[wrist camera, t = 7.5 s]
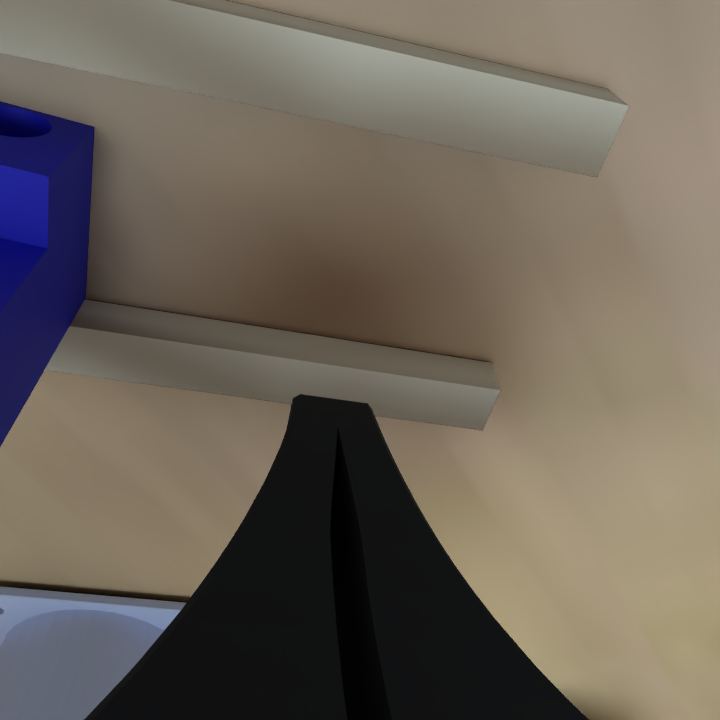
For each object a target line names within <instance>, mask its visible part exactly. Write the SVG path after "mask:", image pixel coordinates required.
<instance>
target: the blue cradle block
mask: <svg viewBox="0 0 720 720" xmlns="http://www.w3.org/2000/svg"><path fill="white" fill-rule="evenodd" d="M93 146H94V127H93V126H89V125H85V124H82V123H78V122H74V121H71V120H67V119H63V118H60V117H56V116H52V115H49V114H45V113H41V112H38V111H34V110H30V109H27V108H23V107H19V106H15V105H12V104H8V103H4V102H1V101H0V446H1V445H2V443H3V441H4V439H5V438H6V436H7V434H8V432H9V431H10V429H11V427H12V425H13V424H14V422H15V420H16V419H17V417H18V415H19V413H20V412H21V410H22V408H23V406H24V405H25V403H26V401H27V399H28V398H29V396H30V394H31V392H32V391H33V389H34V387H35V385H36V384H37V382H38V380H39V379H40V377H41V375H42V373H43V372H44V370H45V368H46V366H47V365H48V363H49V361H50V359H51V358H52V356H53V354H54V352H55V351H56V349H57V347H58V345H59V344H60V342H61V340H62V338H63V337H64V335H65V333H66V332H67V330H68V328H69V326H70V325H71V323H72V321H73V319H74V318H75V316H76V314H77V312H78V311H79V309H80V307H81V305H82V304H83V302H84V300H85V298H86V281H87V262H88V243H89V223H90V204H91V185H92V165H93Z"/></svg>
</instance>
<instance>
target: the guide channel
mask: <svg viewBox="0 0 720 720" xmlns="http://www.w3.org/2000/svg"><path fill="white" fill-rule="evenodd" d="M0 53H3V54H7V55H12V56H17V57H22V58H27V59H31V60H36V61H41V62H46V63H51V64H55V65H60V66H65V67H70V68H74V69H79V70H84V71H89V72H94V73H98V74H103V75H108V76H113V77H118V78H122V79H127V80H132V81H137V82H142V83H146V84H151V85H156V86H161V87H166V88H170V89H175V90H180V91H185V92H190V93H194V94H199V95H204V96H209V97H213V98H218V99H223V100H228V101H233V102H237V103H242V104H247V105H252V106H257V107H261V108H266V109H271V110H276V111H281V112H285V113H290V114H295V115H300V116H305V117H309V118H314V119H319V120H324V121H329V122H333V123H338V124H343V125H348V126H352V127H357V128H362V129H367V130H372V131H376V132H381V133H386V134H391V135H396V136H400V137H405V138H410V139H415V140H420V141H424V142H429V143H434V144H439V145H444V146H448V147H453V148H458V149H463V150H468V151H472V152H477V153H482V154H487V155H491V156H496V157H501V158H506V159H511V160H515V161H520V162H525V163H530V164H535V165H539V166H544V167H549V168H554V169H559V170H563V171H568V172H573V173H578V174H583V175H587V176H592V177H597V176H598V174H599V172H600V169H601V167H602V165H603V163H604V161H605V158H606V156H607V154H608V152H609V150H610V147H611V145H612V143H613V141H614V139H615V136H616V134H617V132H618V130H619V127H620V125H621V123H622V121H623V119H624V116H625V114H626V112H627V110H628V108H629V105H628V104H626V103H625V102H624V101H623V100H621V99H620V98H619V97H618V96H616V95H615V94H614V93H613V92H611V91H610V90H609V89H605V88H601V87H596V86H592V85H588V84H583V83H579V82H575V81H571V80H566V79H562V78H558V77H553V76H549V75H545V74H540V73H536V72H532V71H528V70H523V69H519V68H515V67H510V66H506V65H502V64H497V63H493V62H489V61H485V60H480V59H476V58H472V57H467V56H463V55H459V54H454V53H450V52H446V51H442V50H437V49H433V48H429V47H424V46H420V45H416V44H411V43H407V42H403V41H399V40H394V39H390V38H386V37H381V36H377V35H373V34H368V33H364V32H360V31H356V30H351V29H347V28H343V27H338V26H334V25H330V24H325V23H321V22H317V21H313V20H308V19H304V18H300V17H295V16H291V15H287V14H282V13H278V12H274V11H270V10H265V9H261V8H257V7H252V6H248V5H244V4H239V3H235V2H231V1H227V0H0ZM45 370H48V371H55V372H63V373H70V374H77V375H84V376H92V377H99V378H106V379H113V380H121V381H128V382H135V383H142V384H150V385H157V386H164V387H171V388H179V389H186V390H193V391H200V392H207V393H215V394H222V395H229V396H236V397H244V398H251V399H258V400H265V401H273V402H280V403H287V404H292V400H293V398H294V397H296V396H298V395H299V394H304V395H311V396H319V397H326V398H333V399H340V400H348V401H355V402H362V403H368V404H369V406H370V407H371V408H372V410H373V413H374V416H381V417H389V418H396V419H403V420H410V421H418V422H425V423H432V424H439V425H447V426H454V427H461V428H468V429H475V430H483V428H484V426H485V424H486V422H487V419H488V417H489V415H490V413H491V410H492V408H493V406H494V404H495V402H496V399H497V397H498V395H499V393H500V391H501V390H500V387H499V384H498V381H497V378H496V374H495V371H494V368H493V365H492V363H490V362H483V361H477V360H470V359H464V358H457V357H451V356H445V355H438V354H432V353H425V352H419V351H412V350H406V349H400V348H393V347H387V346H380V345H374V344H367V343H361V342H355V341H348V340H342V339H335V338H329V337H322V336H316V335H310V334H303V333H297V332H290V331H284V330H278V329H271V328H265V327H258V326H252V325H245V324H239V323H233V322H226V321H220V320H213V319H207V318H200V317H194V316H188V315H181V314H175V313H168V312H162V311H155V310H149V309H143V308H136V307H130V306H123V305H117V304H111V303H104V302H98V301H91V300H84V302H83V304H82V305H81V307H80V309H79V311H78V312H77V314H76V316H75V318H74V319H73V321H72V323H71V325H70V326H69V328H68V330H67V332H66V333H65V335H64V337H63V338H62V340H61V342H60V344H59V345H58V347H57V349H56V351H55V352H54V354H53V356H52V358H51V359H50V361H49V363H48V365H47V366H46V368H45Z"/></svg>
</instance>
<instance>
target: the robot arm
mask: <svg viewBox="0 0 720 720" xmlns="http://www.w3.org/2000/svg"><path fill="white" fill-rule="evenodd" d="M0 720H589V719H588V718H587V717H585V716H584V715H583V714H582V713H581V712H580V711H579V710H578V709H577V708H576V707H575V706H574V705H573V704H572V703H571V702H570V701H569V700H568V699H567V698H566V697H565V696H564V695H563V694H562V693H561V692H560V691H559V690H558V689H557V688H556V687H555V686H554V685H553V684H552V683H551V682H550V681H549V680H548V679H547V677H546V676H545V675H544V674H543V673H542V672H541V671H540V670H539V669H538V668H537V667H536V666H535V665H534V664H533V662H532V661H531V660H530V659H529V658H528V657H527V655H526V654H525V653H524V652H523V651H522V650H521V649H520V647H519V646H518V645H517V644H516V643H515V642H514V640H513V639H512V638H511V637H510V636H509V635H508V634H507V632H506V631H505V630H504V629H503V628H502V627H501V625H500V624H499V623H498V622H497V621H496V620H495V618H494V617H493V616H492V615H491V613H490V612H489V611H488V609H487V608H486V607H485V605H484V604H483V603H482V602H481V600H480V599H479V598H478V596H477V595H476V594H475V592H474V591H473V590H472V589H471V587H470V586H469V584H468V583H467V582H466V580H465V579H464V577H463V576H462V575H461V573H460V572H459V570H458V569H457V568H456V566H455V565H454V563H453V562H452V560H451V559H450V557H449V556H448V554H447V553H446V551H445V550H444V548H443V547H442V545H441V543H440V542H439V540H438V539H437V537H436V535H435V534H434V532H433V530H432V529H431V527H430V526H429V524H428V522H427V521H426V519H425V517H424V516H423V514H422V512H421V510H420V509H419V507H418V505H417V503H416V501H415V500H414V498H413V496H412V494H411V492H410V490H409V488H408V486H407V485H406V483H405V481H404V479H403V477H402V475H401V473H400V471H399V469H398V467H397V465H396V463H395V461H394V459H393V457H392V455H391V452H390V450H389V448H388V446H387V444H386V442H385V439H384V437H383V435H382V433H381V430H380V428H379V425H378V423H377V421H376V418H375V416H374V413H373V410H372V408H371V407H370V406H369V404H368V403H362V402H355V401H348V400H340V399H333V398H326V397H319V396H311V395H304V394H299V395H298V396H296V397H294V398H293V400H292V405H291V410H290V415H289V420H288V425H287V430H286V433H285V436H284V439H283V441H282V444H281V447H280V449H279V451H278V453H277V456H276V458H275V460H274V462H273V465H272V467H271V469H270V471H269V473H268V476H267V478H266V480H265V482H264V484H263V485H262V487H261V489H260V491H259V493H258V495H257V496H256V498H255V500H254V502H253V504H252V505H251V507H250V509H249V511H248V513H247V515H246V516H245V518H244V520H243V521H242V523H241V525H240V526H239V528H238V530H237V531H236V533H235V534H234V536H233V538H232V539H231V541H230V542H229V544H228V545H227V547H226V548H225V550H224V551H223V553H222V554H221V556H220V557H219V559H218V560H217V562H216V563H215V565H214V566H213V568H212V569H211V570H210V572H209V573H208V574H207V576H206V577H205V579H204V580H203V581H202V583H201V584H200V586H199V587H198V588H197V590H196V591H195V592H194V594H193V595H192V596H191V598H190V599H189V600H188V602H187V603H184V602H172V601H161V600H150V599H138V598H127V597H115V596H104V595H92V594H81V593H70V592H58V591H47V590H35V589H24V588H13V587H1V586H0Z"/></svg>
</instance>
